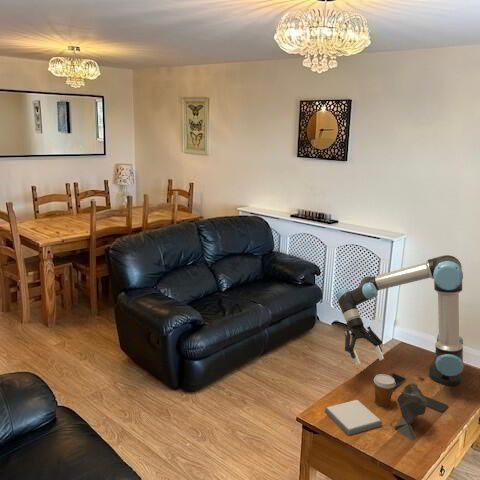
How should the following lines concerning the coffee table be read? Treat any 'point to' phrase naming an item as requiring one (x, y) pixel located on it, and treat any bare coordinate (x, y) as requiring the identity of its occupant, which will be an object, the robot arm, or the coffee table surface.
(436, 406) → the phone
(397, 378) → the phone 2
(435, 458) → the coffee table surface
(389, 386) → the disposable coffee cup
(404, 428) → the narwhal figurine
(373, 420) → the plate
